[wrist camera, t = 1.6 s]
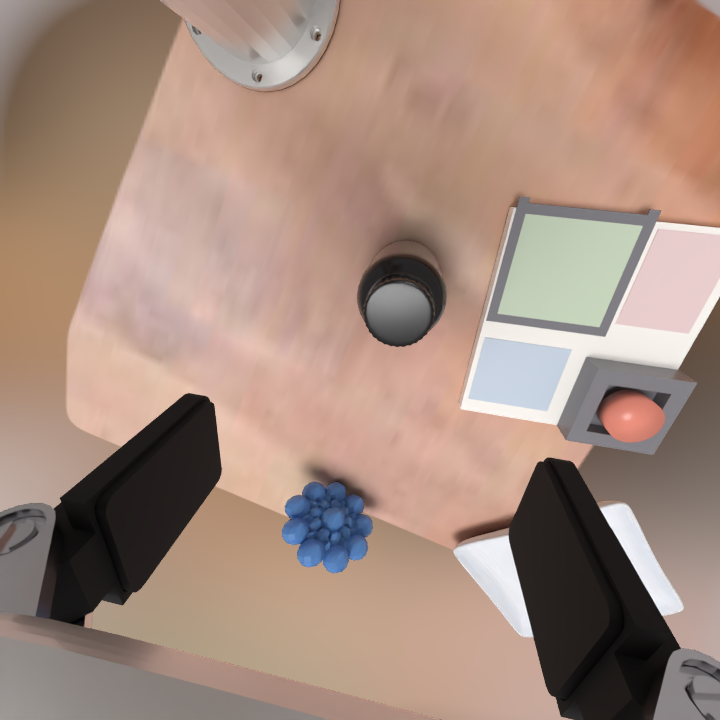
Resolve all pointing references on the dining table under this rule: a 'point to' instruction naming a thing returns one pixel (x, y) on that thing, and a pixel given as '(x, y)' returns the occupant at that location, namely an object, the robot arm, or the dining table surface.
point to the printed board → (585, 303)
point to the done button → (630, 416)
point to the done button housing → (615, 376)
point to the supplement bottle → (402, 293)
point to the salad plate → (501, 583)
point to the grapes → (327, 526)
